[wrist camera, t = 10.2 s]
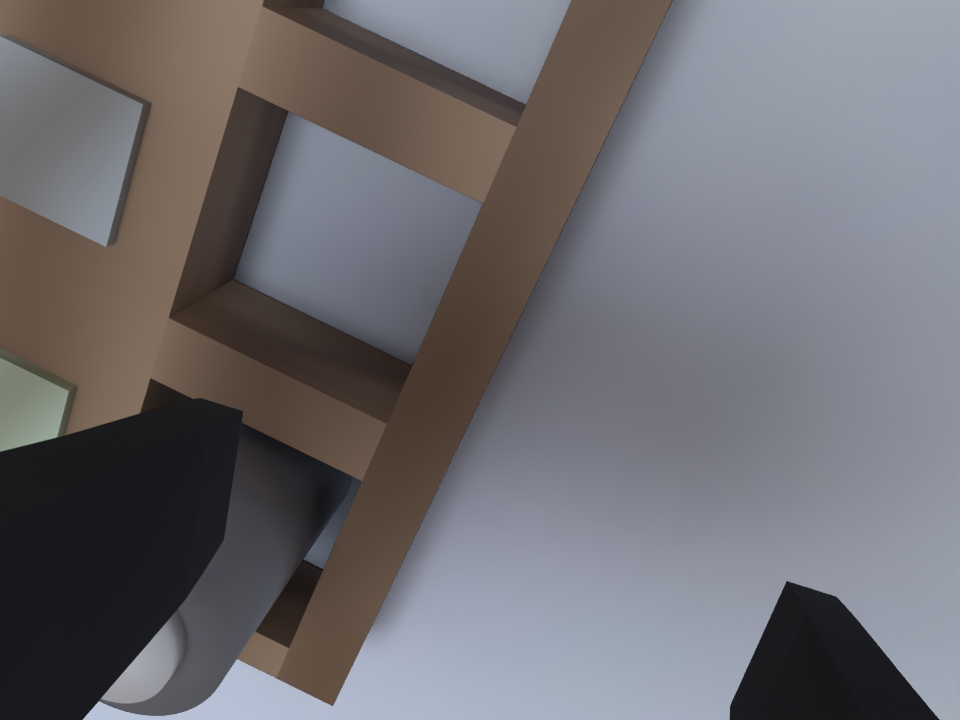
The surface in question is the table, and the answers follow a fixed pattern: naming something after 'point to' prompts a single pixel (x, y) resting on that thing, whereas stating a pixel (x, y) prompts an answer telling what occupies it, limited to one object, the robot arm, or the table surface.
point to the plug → (235, 576)
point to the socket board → (224, 228)
